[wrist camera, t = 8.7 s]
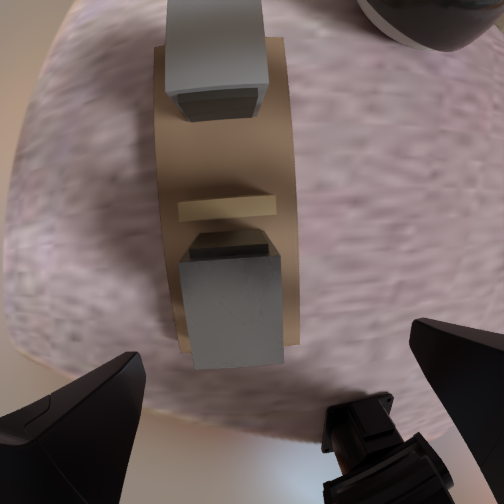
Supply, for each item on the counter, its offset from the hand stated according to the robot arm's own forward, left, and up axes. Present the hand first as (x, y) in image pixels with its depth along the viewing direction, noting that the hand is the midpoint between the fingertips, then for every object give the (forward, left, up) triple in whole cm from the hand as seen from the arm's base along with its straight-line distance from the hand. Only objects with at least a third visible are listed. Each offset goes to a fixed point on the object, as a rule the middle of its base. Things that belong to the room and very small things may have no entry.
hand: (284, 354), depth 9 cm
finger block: (0, +2, -10) cm, 10 cm away
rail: (+5, +2, -11) cm, 12 cm away
